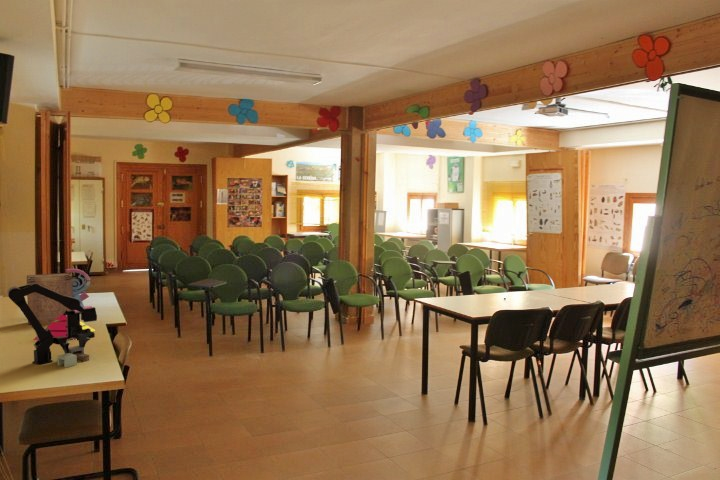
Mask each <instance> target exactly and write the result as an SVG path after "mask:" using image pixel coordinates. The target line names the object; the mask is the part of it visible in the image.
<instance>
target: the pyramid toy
mask: <svg viewBox="0 0 720 480" xmlns="http://www.w3.org/2000/svg"><path fill="white" fill-rule="evenodd" d="M66 325H67V315H63V314H61V315H60V316H59V317H58V318H57V319H56V321H54V322H52V323H49V325H48V326H47V327H46V328H49V330H50V332H51V333H52V334H53V335H54V337H59V336H62V337H67V336H66V334H67V328H66ZM80 325H82V329H83V330H84V329H88V328H89V329H90V330H91V331H92V332H95V331H96V329H94V328H93V327H91V326H89V325H87V324H86V323H85V322H84V321H82V320H80ZM54 337H53V338H54ZM35 340H36V341H38V337H37V336H36V337H34V338H33V341H35ZM75 340H76V339H74V340H73V341H75ZM76 341H77V340H76Z"/></svg>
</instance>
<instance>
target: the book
mask: <svg viewBox="0 0 720 480" xmlns="http://www.w3.org/2000/svg"><path fill="white" fill-rule="evenodd" d="M72 280H73V274H72V272H69V273H67V272H63V273H62V272H61V273H45V274H44V273H43V274H28V275H26V285H29V284H32V283H37V284H39V285H41V286H43V287H45V288H48V289H50V290H52V291H55V292H57V293H59V294H62V295H66V296H71V297H73V293H72V287H73V282H72ZM26 298H27V300H26V302H27V304H28V306H29V307H30V309H31V310H32V312H33V313H34V315H35V316H36V318H37V319H38V321H39V322H40V324H41V325H43V324H44V323H46V324H51V323H52V322H54V321H56V319H57V318H58V317H59V316H60V315H61V314H62V313H63V312H64V311H65V310H67V311H73V310H70V309H68V308H67V307H65V306H64V305H62V304H61V303H59V302H57V301H55V300H53V299H50V298H48V297H46V296H43V295H41V294H39V293H36V292H34V293H31V294H29V295H26ZM27 323H28V326H32V325H31V324H30V323H29V321H28V320H27ZM44 325H45V324H44Z"/></svg>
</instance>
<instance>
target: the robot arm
mask: <svg viewBox="0 0 720 480" xmlns="http://www.w3.org/2000/svg"><path fill="white" fill-rule="evenodd" d="M34 292H36V293H39V294H41V295H43V296H46V297H48V298H50V299H53V300H55V301H57V302H59V303H61V304H62V305H64V306H65V307H67V308H68V309H70V310H77V311H79V312H75V311H67V310H65V311H64V312H63V313H62V314H63V315H67V325H66V328H67V334H66V336H67V337H62V336H59V337H54V335H53V334H52V333H51V332H50V330H49V328H47V327H46V328H45V327H44V326H43V324H40V322H39V321H38V319H37V318H36V316H35V315H34V313H33V312H32V310H31V309H30V307H29V306H28V303H27V300H26V297H27V295H29V294H31V293H34ZM6 294H7V296H8V298H9V299H10V300H11V302H13V303H14V304H15V305H16V306H17V308H19V310H20V311H21V312H22V314H23V316H25V318H26V320H27V322H28V321H29V323H30V324H31V325H30V326H31V327H32V329H33V330H34V332H35V335H36V337H38V340H36V342H35V343H34V344H33V346H34V350H33V361H32V362H31V363H33V364H35V365H44V364H48V363H52V362H53V360H52V351H51V348H50V347H51V346H52V345H58V346H60V347H61V348H62V350H63V352H64V354H67V353H69V345H70V342H68V341H74V340H73V339H77V340H76V341H78V346H81V347H84V348H85V346H86V344H87V343H88V342H89V341H90V340H91V339H93V338H95V337H96V336H95V335H96V334H95V333H94V332H95V331H93V332H92V331H91V330H90V329H89V328H88V329H84V330H83V329H82V325H80V321H82V322H83V323H90V322H97V319H98V315H97V311H96V309H97V308H96V307H92V308H85V309H83V307H81V306H80V301H79V300H78V299H76V298H75V297H71V296H66V295H62V294H59V293H57V292H55V291H52V290H50V289H48V288H45V287H43V286H41V285H39V284H37V283H32V284H29V285H27V284H25V285H21V286H11V287H10V288H8V290H7V293H6ZM25 296H26V297H25ZM53 337H54V338H53Z"/></svg>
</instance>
